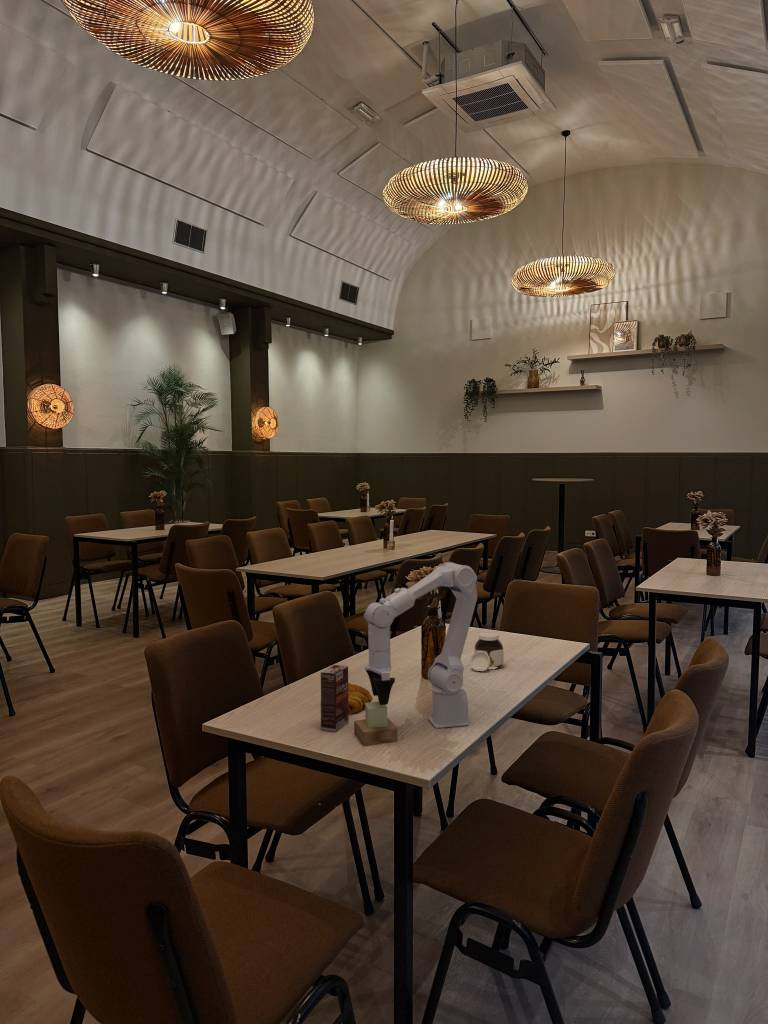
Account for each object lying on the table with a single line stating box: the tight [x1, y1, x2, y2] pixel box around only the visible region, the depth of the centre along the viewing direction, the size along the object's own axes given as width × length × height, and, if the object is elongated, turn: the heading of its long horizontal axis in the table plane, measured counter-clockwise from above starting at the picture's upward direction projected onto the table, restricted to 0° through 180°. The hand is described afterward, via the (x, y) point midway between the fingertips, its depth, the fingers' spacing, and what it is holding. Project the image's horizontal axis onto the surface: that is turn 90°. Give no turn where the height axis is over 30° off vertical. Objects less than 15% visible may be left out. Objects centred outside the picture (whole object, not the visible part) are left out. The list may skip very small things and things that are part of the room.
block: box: [353, 717, 398, 747], centre depth 188 cm, size 9×9×4 cm
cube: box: [364, 701, 388, 728], centre depth 188 cm, size 5×5×5 cm
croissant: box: [348, 682, 373, 715], centre depth 213 cm, size 14×16×8 cm
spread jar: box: [469, 632, 504, 672], centre depth 252 cm, size 12×11×12 cm
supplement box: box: [320, 664, 350, 733], centre depth 197 cm, size 9×5×16 cm, turn 158°
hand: (380, 699), depth 190 cm, fingers open, 7 cm apart
